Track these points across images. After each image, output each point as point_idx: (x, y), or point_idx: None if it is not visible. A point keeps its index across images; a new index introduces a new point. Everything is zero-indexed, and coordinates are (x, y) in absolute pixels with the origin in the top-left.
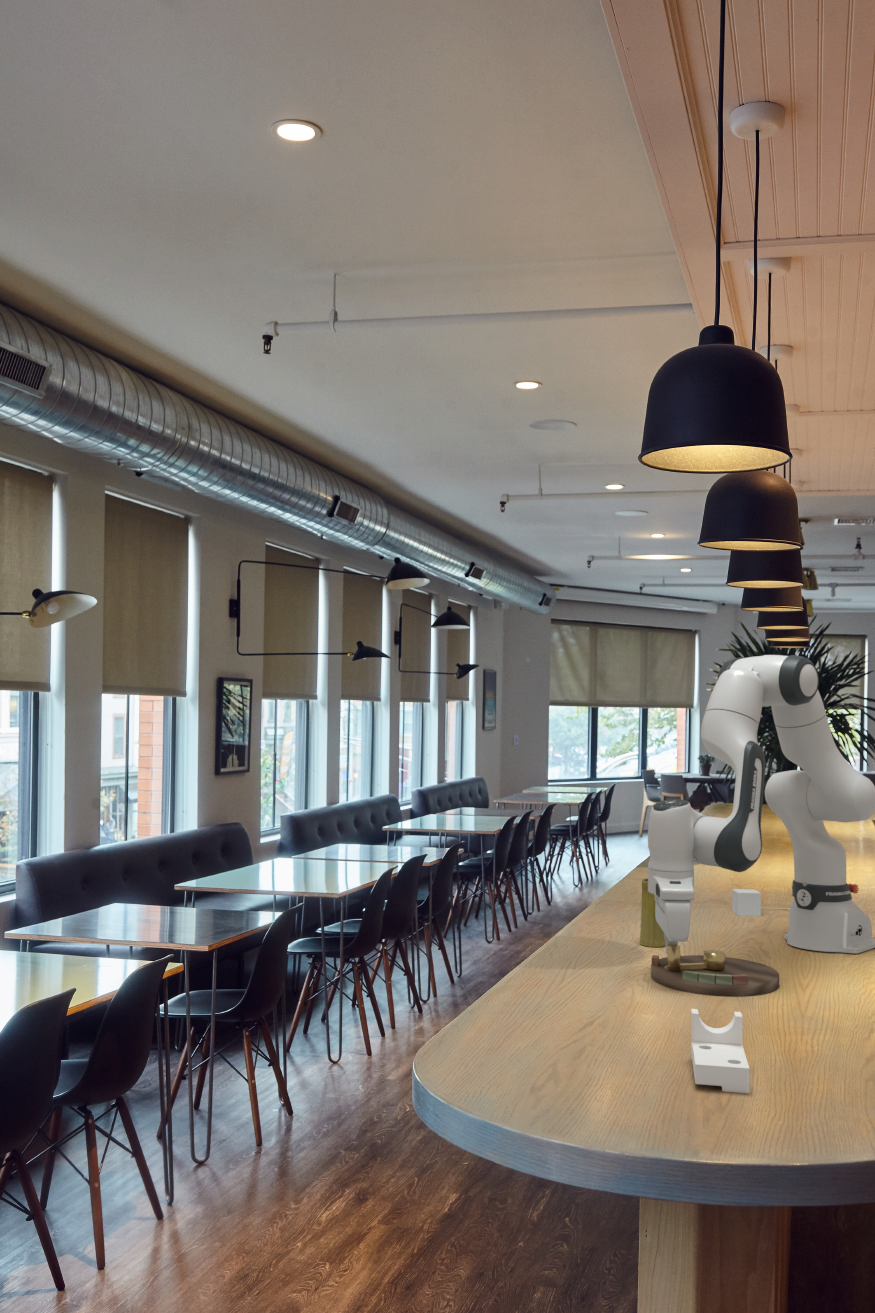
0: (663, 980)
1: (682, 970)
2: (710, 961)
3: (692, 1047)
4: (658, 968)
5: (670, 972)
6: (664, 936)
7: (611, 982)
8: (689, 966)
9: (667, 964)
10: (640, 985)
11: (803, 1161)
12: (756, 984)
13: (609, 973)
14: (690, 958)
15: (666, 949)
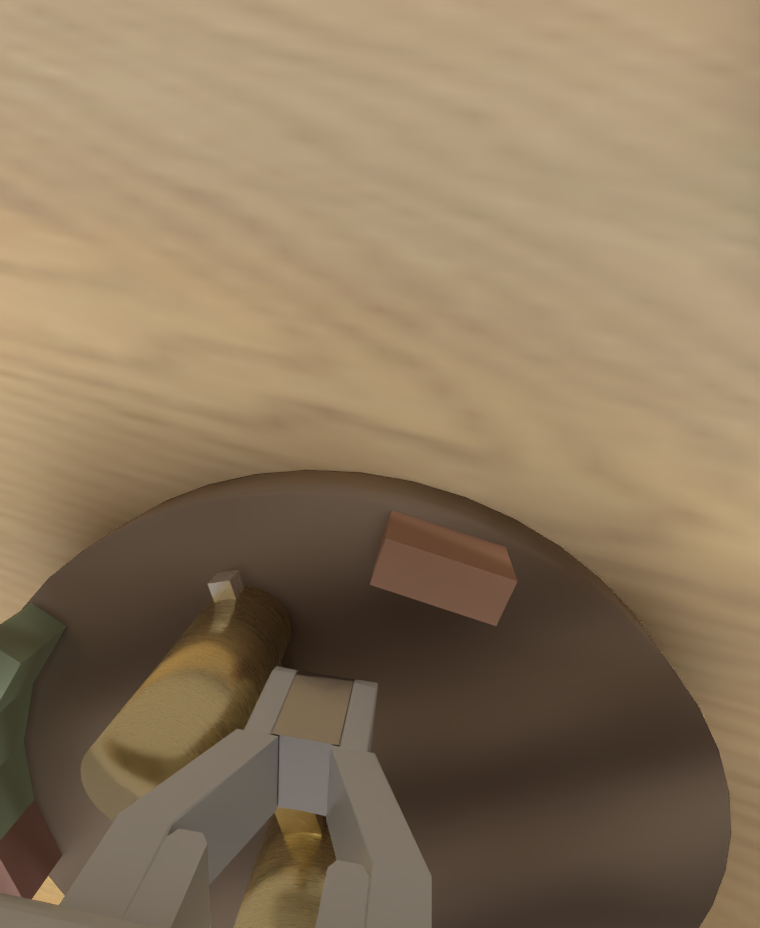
0: (155, 509)
1: None
2: (253, 872)
3: None
4: (312, 540)
5: (203, 587)
6: (387, 855)
7: (202, 133)
8: None
9: (225, 608)
10: (158, 353)
11: None
12: (56, 882)
13: (502, 162)
14: (627, 819)
15: (309, 711)
